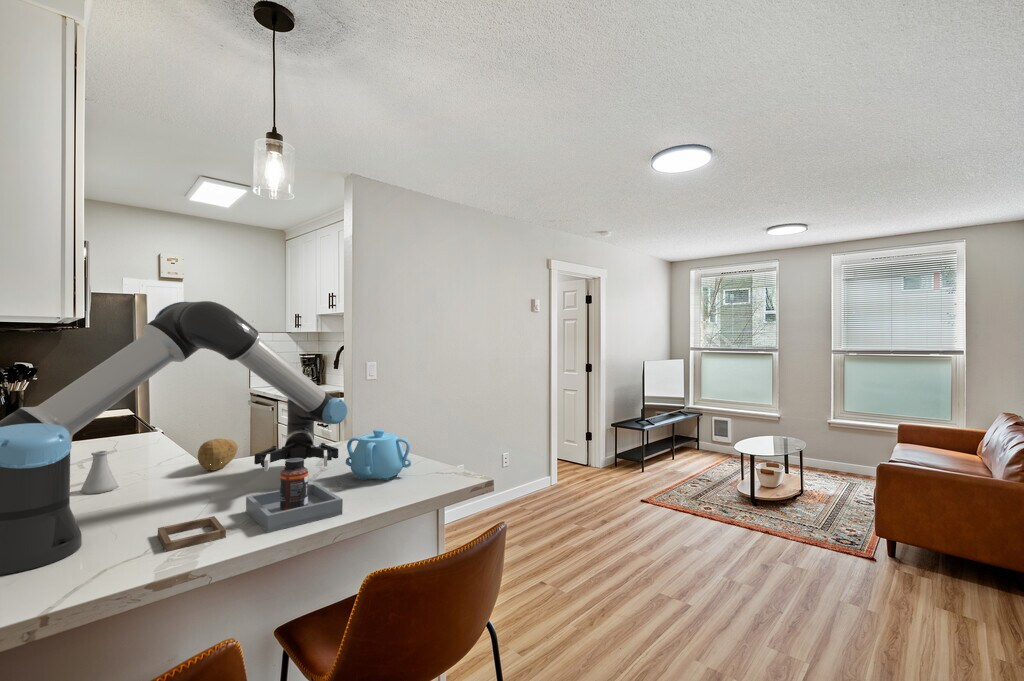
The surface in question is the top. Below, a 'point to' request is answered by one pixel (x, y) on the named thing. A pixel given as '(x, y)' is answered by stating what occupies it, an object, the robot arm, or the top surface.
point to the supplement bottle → (293, 484)
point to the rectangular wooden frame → (191, 540)
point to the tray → (273, 518)
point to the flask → (99, 475)
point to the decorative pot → (378, 455)
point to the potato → (216, 453)
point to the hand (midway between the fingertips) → (296, 463)
